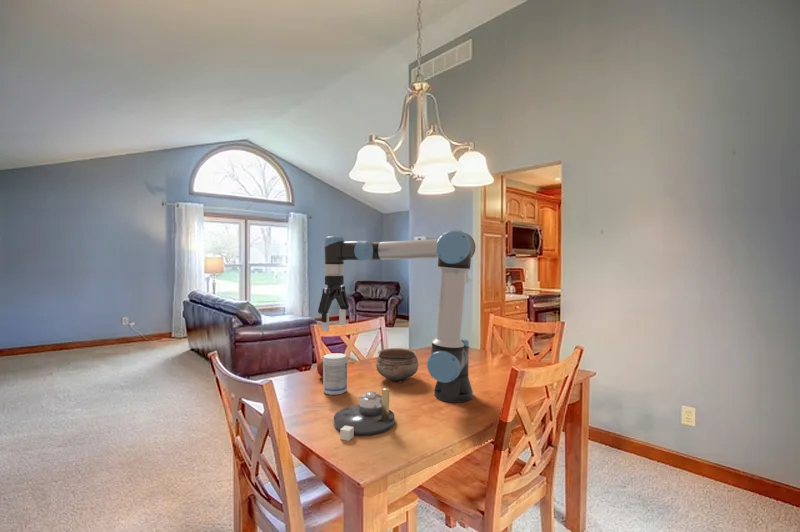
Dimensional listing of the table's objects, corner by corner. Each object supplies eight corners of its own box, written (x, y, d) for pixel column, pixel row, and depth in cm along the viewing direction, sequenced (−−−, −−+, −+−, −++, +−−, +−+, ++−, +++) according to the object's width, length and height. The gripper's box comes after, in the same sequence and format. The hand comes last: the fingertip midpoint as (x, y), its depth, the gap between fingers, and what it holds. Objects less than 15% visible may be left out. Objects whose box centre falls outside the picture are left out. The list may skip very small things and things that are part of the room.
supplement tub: (350, 392, 161) (351, 356, 160) (328, 397, 155) (329, 359, 155) (340, 386, 169) (340, 351, 168) (319, 390, 163) (319, 354, 163)
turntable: (402, 415, 138) (403, 381, 138) (380, 440, 119) (380, 400, 119) (351, 407, 145) (351, 374, 145) (322, 429, 126) (322, 391, 126)
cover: (385, 408, 139) (386, 391, 139) (376, 416, 132) (377, 398, 132) (365, 404, 142) (365, 388, 142) (355, 413, 135) (355, 395, 134)
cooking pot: (406, 391, 163) (406, 361, 163) (365, 385, 170) (365, 356, 170) (426, 374, 186) (426, 348, 186) (389, 370, 194) (389, 345, 193)
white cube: (353, 436, 122) (353, 426, 122) (349, 440, 119) (349, 430, 119) (344, 435, 123) (345, 425, 123) (340, 439, 120) (340, 429, 120)
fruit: (339, 380, 176) (340, 358, 176) (316, 382, 174) (316, 359, 174) (338, 373, 186) (338, 352, 186) (316, 374, 184) (317, 353, 184)
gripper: (341, 273, 173) (341, 322, 173) (308, 276, 149) (308, 332, 150) (356, 273, 170) (356, 323, 171) (326, 276, 147) (326, 333, 147)
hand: (334, 327), depth 160 cm, fingers open, 13 cm apart
